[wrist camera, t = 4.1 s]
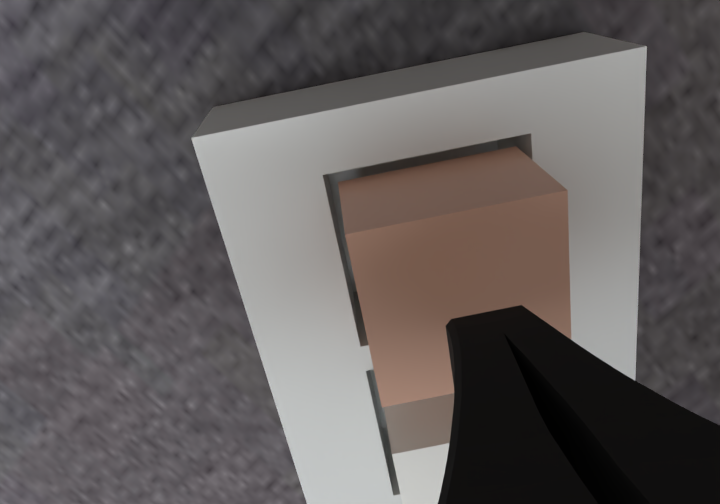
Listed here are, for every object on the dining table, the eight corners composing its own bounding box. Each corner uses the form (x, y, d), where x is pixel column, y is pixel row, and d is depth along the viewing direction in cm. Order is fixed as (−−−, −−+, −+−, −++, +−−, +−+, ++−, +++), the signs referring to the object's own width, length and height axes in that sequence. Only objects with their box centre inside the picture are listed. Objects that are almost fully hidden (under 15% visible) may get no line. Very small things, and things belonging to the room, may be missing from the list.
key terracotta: (516, 145, 14) (567, 190, 11) (526, 300, 15) (572, 369, 13) (337, 182, 14) (344, 234, 11) (369, 330, 15) (381, 407, 13)
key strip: (583, 32, 15) (646, 46, 13) (590, 602, 26) (624, 680, 23) (212, 107, 16) (191, 138, 13) (370, 645, 26) (378, 728, 23)
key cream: (528, 342, 16) (573, 418, 13) (536, 454, 18) (576, 541, 15) (377, 372, 16) (391, 454, 13) (400, 481, 18) (417, 572, 15)
